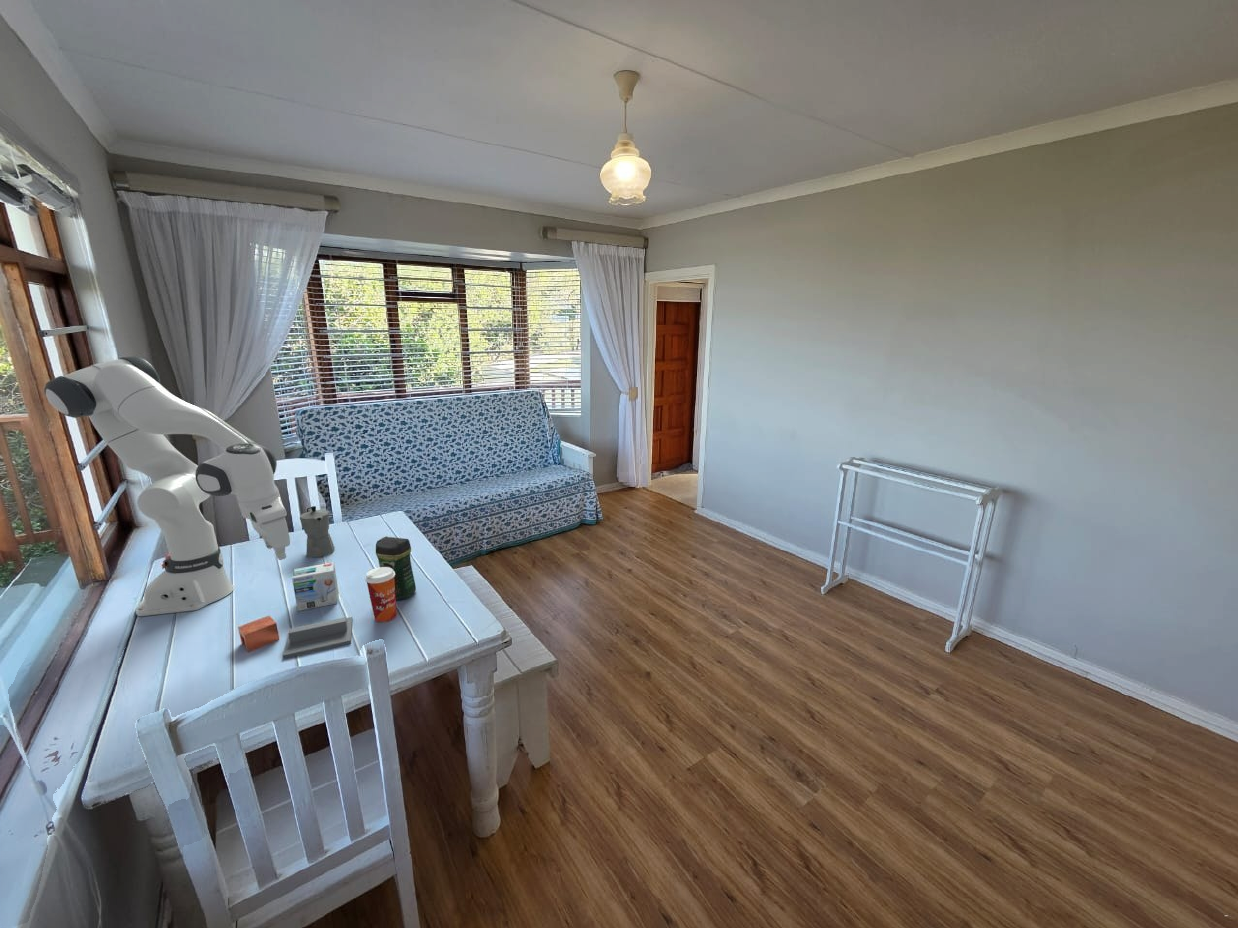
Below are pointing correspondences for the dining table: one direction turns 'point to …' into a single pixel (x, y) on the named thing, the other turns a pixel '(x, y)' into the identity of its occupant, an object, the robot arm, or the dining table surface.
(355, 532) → the dining table surface
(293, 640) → the stand
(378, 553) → the coffee jar
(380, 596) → the paper cup
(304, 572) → the light bulb box
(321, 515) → the coffeepot
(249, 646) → the block
